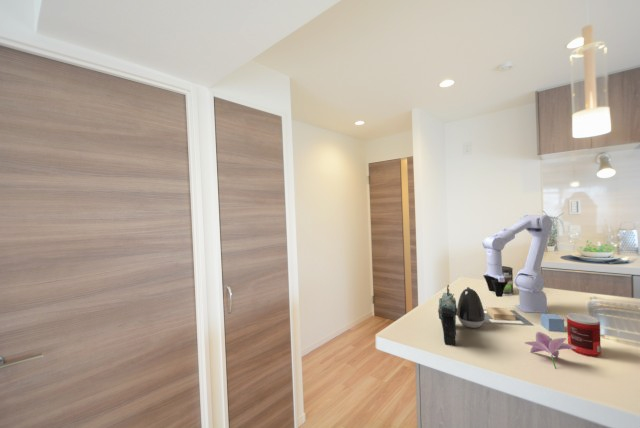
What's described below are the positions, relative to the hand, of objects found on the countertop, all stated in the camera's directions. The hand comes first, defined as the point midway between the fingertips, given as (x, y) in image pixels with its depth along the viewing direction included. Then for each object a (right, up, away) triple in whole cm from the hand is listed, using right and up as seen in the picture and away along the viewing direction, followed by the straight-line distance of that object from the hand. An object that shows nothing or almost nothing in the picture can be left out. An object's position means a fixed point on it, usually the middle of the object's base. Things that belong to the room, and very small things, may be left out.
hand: (495, 293), depth 117 cm
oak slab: (+1, -9, -3) cm, 10 cm away
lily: (-7, -10, -36) cm, 38 cm away
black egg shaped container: (-16, -11, -9) cm, 21 cm away
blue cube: (+12, -9, -15) cm, 22 cm away
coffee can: (+23, -8, +28) cm, 37 cm away
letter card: (+1, -9, -3) cm, 10 cm away
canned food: (+9, -10, -31) cm, 33 cm away
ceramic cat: (-29, -11, -16) cm, 35 cm away
